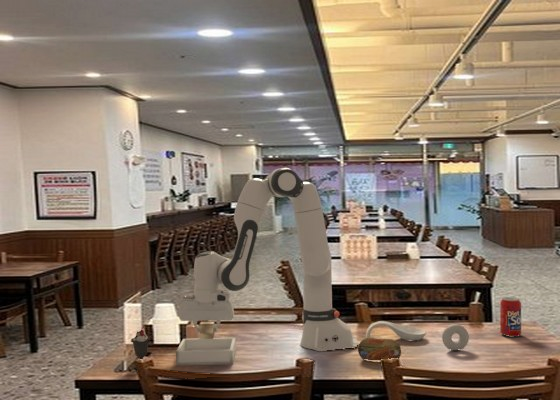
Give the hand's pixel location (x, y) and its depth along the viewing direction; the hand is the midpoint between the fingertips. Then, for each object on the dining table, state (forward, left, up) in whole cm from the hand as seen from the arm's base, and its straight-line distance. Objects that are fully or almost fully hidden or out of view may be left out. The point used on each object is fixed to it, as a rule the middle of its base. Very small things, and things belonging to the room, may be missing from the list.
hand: (207, 331), depth 214 cm
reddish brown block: (+8, -15, -9) cm, 19 cm away
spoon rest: (-74, -14, -9) cm, 75 cm away
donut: (-92, +3, -9) cm, 93 cm away
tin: (-62, +13, -9) cm, 64 cm away
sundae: (+22, +13, -9) cm, 27 cm away
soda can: (-120, -15, -9) cm, 122 cm away
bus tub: (0, +4, -9) cm, 9 cm away
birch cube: (0, 0, -2) cm, 2 cm away
